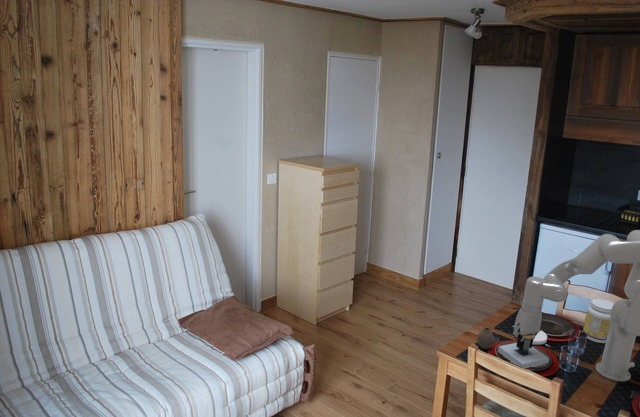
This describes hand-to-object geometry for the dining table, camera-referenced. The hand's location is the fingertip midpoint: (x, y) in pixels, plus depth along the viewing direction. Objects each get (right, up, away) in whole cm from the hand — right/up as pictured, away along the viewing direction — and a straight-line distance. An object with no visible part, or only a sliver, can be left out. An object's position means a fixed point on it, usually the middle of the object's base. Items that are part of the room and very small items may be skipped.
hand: (523, 347), depth 222 cm
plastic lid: (+11, -2, +21) cm, 24 cm away
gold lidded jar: (0, -3, +1) cm, 3 cm away
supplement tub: (+43, -2, +25) cm, 50 cm away
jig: (0, -6, +2) cm, 6 cm away
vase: (-13, -3, +11) cm, 17 cm away
